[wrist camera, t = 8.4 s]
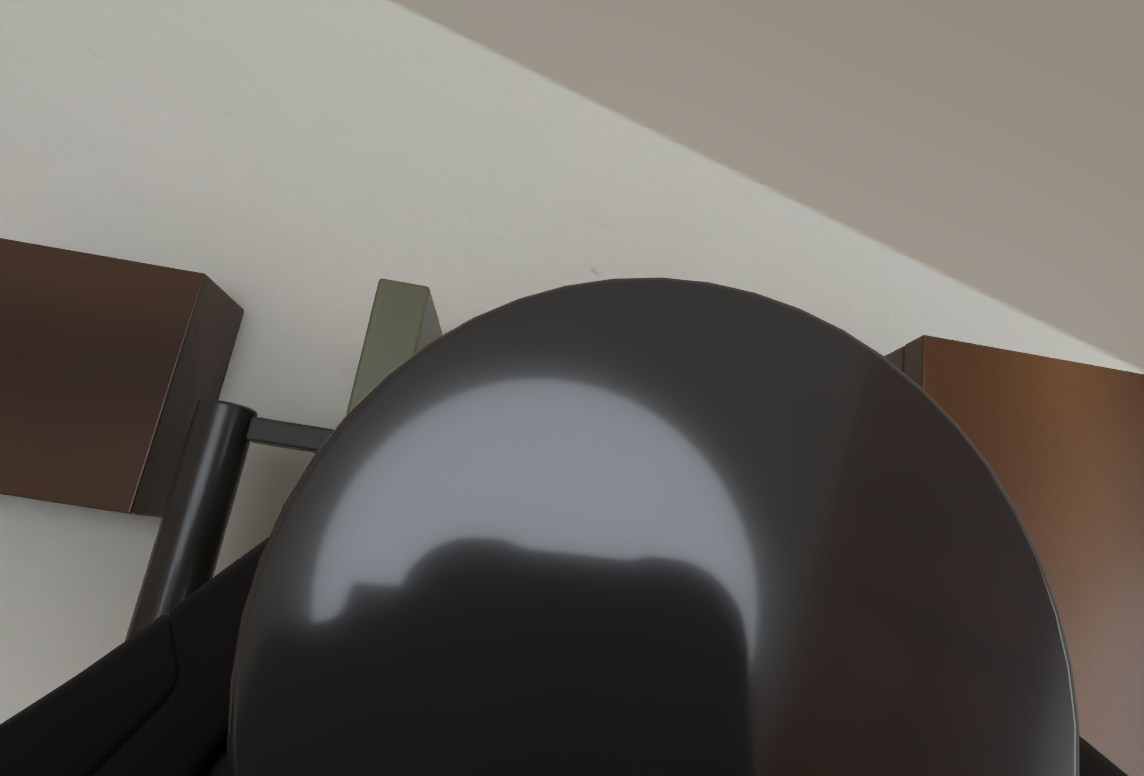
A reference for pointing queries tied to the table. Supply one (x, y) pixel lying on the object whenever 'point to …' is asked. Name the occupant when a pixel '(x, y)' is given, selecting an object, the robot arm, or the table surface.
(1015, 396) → the cabinet
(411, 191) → the table surface
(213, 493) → the drawer
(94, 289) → the stand
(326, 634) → the shaker
